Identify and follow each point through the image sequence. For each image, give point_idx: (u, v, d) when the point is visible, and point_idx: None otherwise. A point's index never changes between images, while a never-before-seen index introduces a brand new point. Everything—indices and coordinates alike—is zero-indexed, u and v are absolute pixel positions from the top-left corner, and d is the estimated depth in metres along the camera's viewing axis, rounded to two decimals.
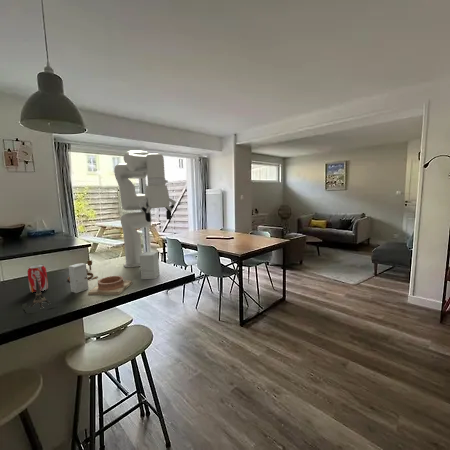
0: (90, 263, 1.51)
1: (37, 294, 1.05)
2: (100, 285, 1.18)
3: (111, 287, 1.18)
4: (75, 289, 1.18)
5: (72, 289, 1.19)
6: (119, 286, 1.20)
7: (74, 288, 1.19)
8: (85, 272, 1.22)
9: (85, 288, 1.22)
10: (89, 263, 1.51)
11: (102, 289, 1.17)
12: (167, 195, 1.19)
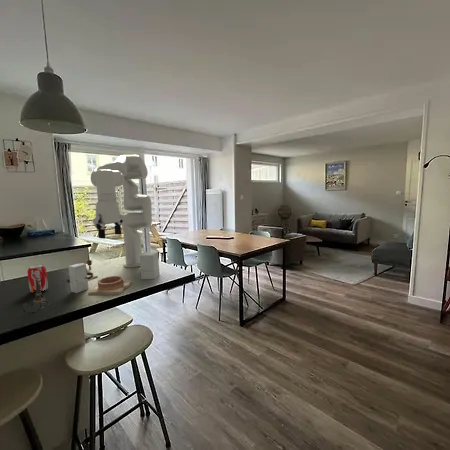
0: (90, 263, 1.52)
1: (37, 294, 1.05)
2: (100, 285, 1.18)
3: (111, 287, 1.18)
4: (75, 289, 1.18)
5: (72, 289, 1.19)
6: (119, 286, 1.20)
7: (74, 288, 1.19)
8: (85, 272, 1.22)
9: (85, 288, 1.22)
10: (89, 263, 1.51)
11: (102, 289, 1.17)
12: (118, 210, 1.21)
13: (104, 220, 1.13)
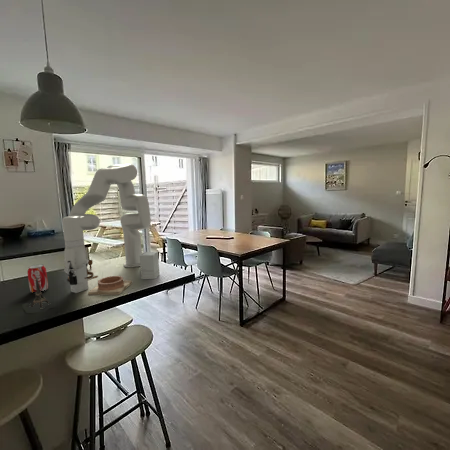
0: (90, 262, 1.53)
1: (37, 294, 1.05)
2: (100, 285, 1.18)
3: (111, 287, 1.18)
4: (75, 289, 1.18)
5: (72, 289, 1.19)
6: (119, 286, 1.20)
7: (74, 288, 1.19)
8: (85, 272, 1.22)
9: (85, 288, 1.22)
10: (89, 262, 1.52)
11: (102, 289, 1.17)
12: (85, 254, 1.23)
13: (74, 266, 1.15)
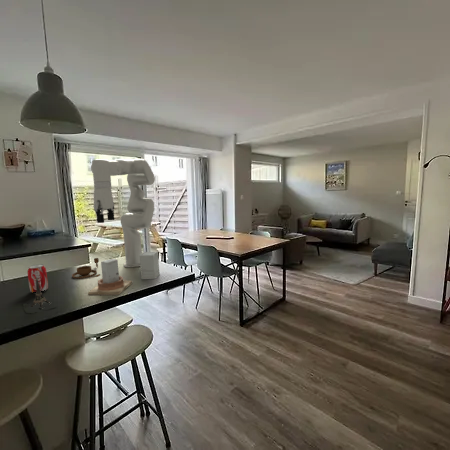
0: (96, 261, 1.56)
1: (37, 294, 1.05)
2: (100, 285, 1.18)
3: (111, 287, 1.18)
4: None
5: None
6: (119, 286, 1.20)
7: None
8: (117, 268, 1.23)
9: None
10: (95, 261, 1.56)
11: (102, 289, 1.17)
12: (112, 197, 1.31)
13: (103, 206, 1.23)
